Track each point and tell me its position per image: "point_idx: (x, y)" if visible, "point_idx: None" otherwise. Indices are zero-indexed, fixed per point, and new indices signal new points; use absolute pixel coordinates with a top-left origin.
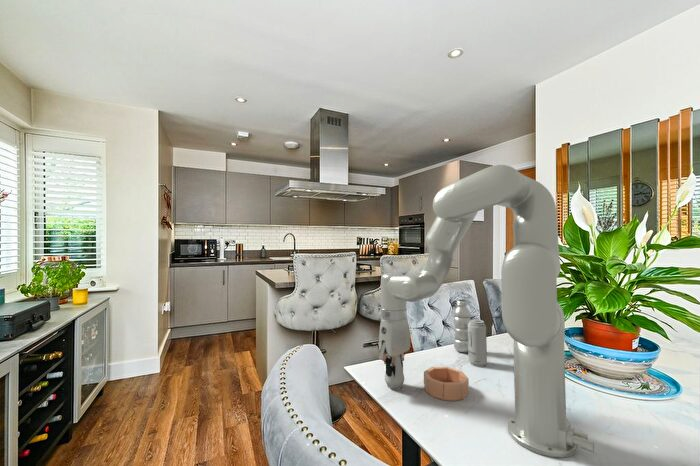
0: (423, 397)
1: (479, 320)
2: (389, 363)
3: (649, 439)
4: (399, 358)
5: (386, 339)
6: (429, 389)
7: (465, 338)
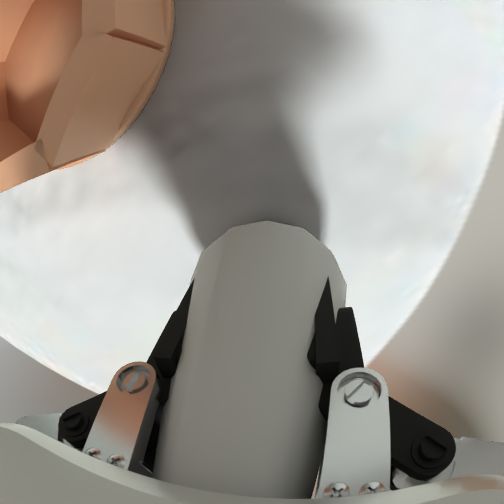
0: (231, 43)
1: None
2: (397, 411)
3: None
4: (210, 422)
5: None
6: (156, 35)
7: None
